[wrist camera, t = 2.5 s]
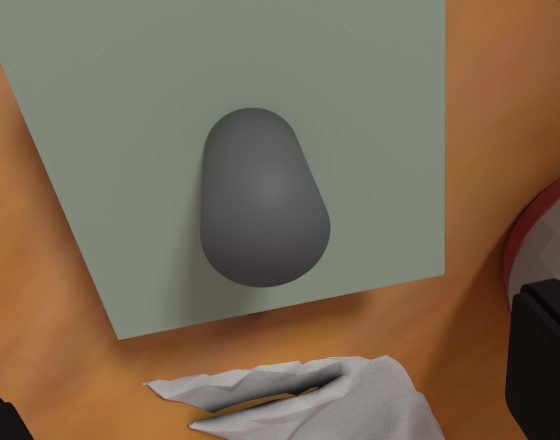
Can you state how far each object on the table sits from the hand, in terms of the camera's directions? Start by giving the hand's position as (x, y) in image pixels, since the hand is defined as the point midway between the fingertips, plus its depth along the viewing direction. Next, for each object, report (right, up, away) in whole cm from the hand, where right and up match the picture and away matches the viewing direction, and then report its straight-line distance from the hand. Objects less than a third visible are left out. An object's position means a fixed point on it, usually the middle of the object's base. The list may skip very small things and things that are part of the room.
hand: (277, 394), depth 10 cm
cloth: (+4, -10, +27) cm, 29 cm away
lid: (-1, +6, +11) cm, 12 cm away
